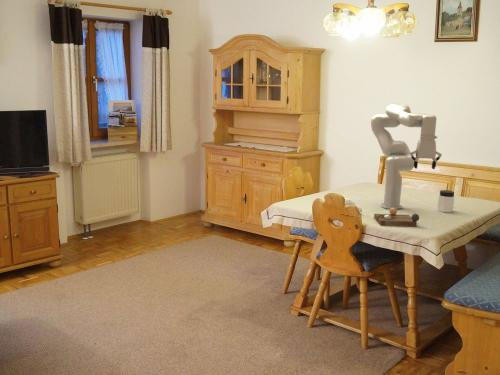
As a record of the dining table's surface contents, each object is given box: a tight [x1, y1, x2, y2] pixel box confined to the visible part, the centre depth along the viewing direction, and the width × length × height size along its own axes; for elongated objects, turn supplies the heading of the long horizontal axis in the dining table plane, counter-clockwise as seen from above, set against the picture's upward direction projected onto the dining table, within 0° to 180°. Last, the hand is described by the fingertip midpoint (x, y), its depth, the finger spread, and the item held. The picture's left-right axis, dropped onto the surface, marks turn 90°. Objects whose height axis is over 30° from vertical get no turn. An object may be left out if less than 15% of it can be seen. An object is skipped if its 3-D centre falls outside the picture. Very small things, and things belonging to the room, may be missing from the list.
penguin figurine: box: [344, 197, 363, 213], centre depth 322 cm, size 6×8×12 cm
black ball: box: [411, 213, 420, 222], centre depth 299 cm, size 4×4×4 cm
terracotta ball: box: [389, 208, 398, 215], centre depth 312 cm, size 4×4×4 cm
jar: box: [437, 189, 455, 213], centre depth 337 cm, size 9×8×12 cm
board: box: [373, 213, 418, 228], centre depth 306 cm, size 16×19×2 cm
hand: (424, 168), depth 313 cm, fingers open, 9 cm apart
